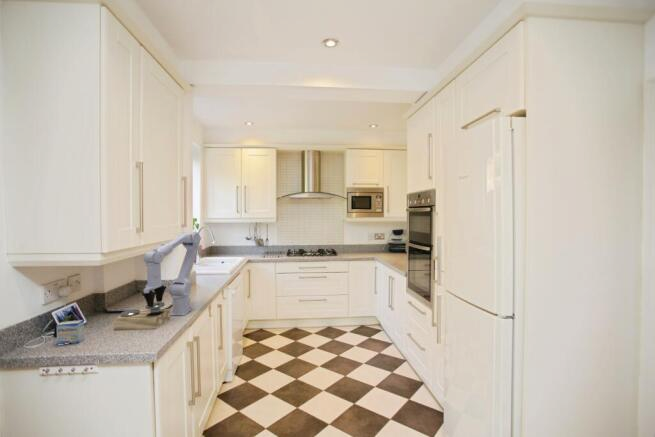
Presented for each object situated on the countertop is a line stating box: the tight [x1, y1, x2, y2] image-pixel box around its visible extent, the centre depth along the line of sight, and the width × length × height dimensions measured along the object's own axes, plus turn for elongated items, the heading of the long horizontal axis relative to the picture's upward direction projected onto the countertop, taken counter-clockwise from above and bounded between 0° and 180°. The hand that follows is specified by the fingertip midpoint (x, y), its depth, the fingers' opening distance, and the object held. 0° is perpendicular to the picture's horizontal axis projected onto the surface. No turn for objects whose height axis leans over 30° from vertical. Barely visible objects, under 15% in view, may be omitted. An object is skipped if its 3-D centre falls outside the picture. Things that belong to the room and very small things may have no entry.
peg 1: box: [119, 308, 141, 317], centre depth 147 cm, size 8×8×5 cm
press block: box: [113, 308, 171, 331], centre depth 147 cm, size 13×19×5 cm
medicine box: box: [56, 319, 85, 345], centre depth 127 cm, size 8×4×9 cm, turn 106°
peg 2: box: [145, 301, 165, 315], centre depth 147 cm, size 8×8×5 cm
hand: (155, 303), depth 147 cm, fingers open, 7 cm apart
